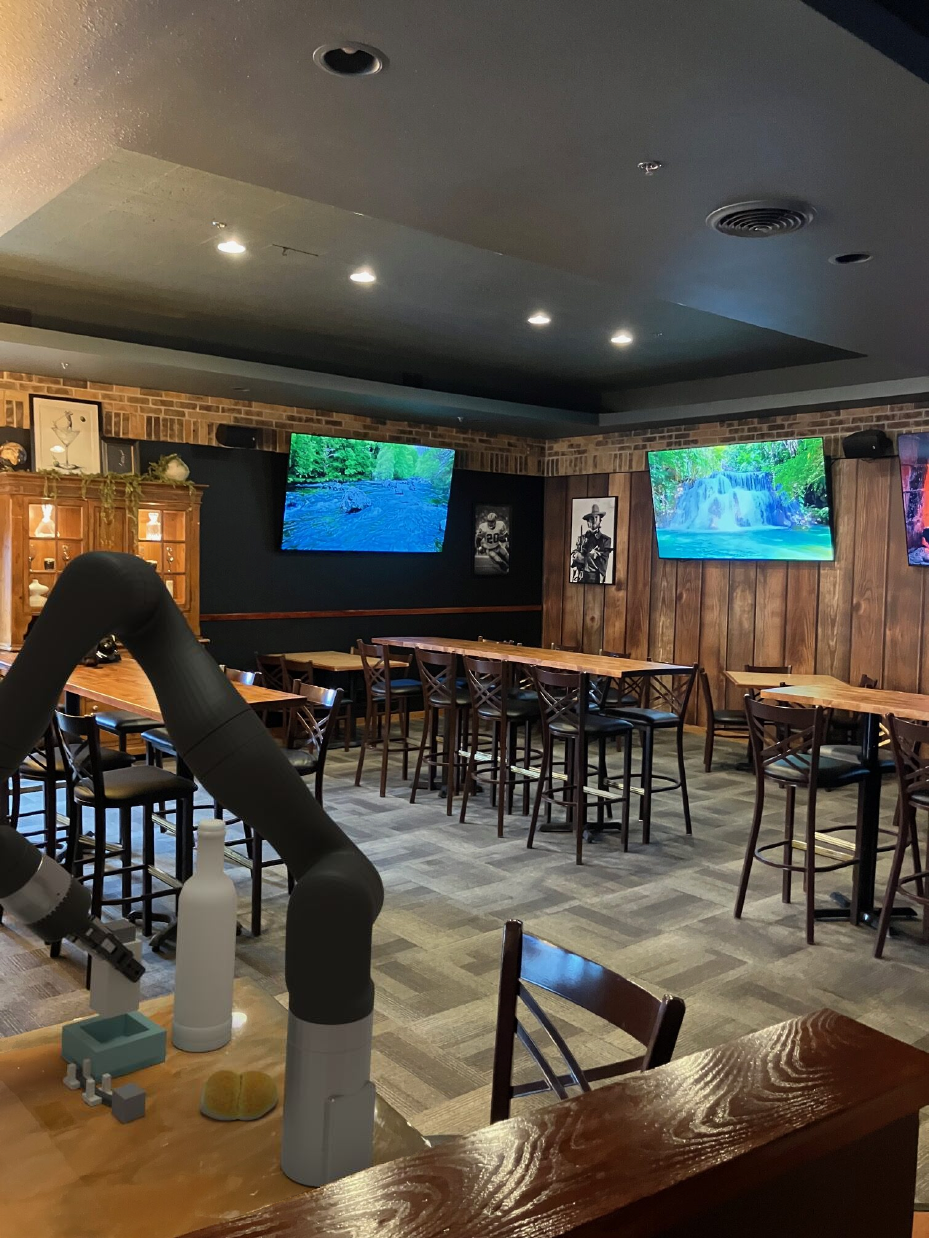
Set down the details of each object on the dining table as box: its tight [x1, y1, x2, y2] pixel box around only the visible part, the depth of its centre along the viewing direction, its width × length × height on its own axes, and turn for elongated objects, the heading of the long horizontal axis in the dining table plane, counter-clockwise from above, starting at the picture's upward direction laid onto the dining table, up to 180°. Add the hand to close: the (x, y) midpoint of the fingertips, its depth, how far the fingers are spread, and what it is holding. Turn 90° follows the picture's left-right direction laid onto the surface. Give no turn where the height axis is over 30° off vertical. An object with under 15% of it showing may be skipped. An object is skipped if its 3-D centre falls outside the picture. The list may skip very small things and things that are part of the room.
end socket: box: [60, 1010, 168, 1086], centre depth 127 cm, size 10×10×4 cm
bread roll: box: [199, 1069, 278, 1121], centre depth 118 cm, size 8×9×4 cm
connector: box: [88, 918, 144, 1019], centre depth 127 cm, size 4×4×11 cm
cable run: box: [62, 1058, 147, 1124], centre depth 118 cm, size 14×4×3 cm, turn 47°
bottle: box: [171, 818, 239, 1053], centre depth 133 cm, size 8×8×30 cm
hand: (129, 969), depth 128 cm, fingers closed on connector, 4 cm apart
